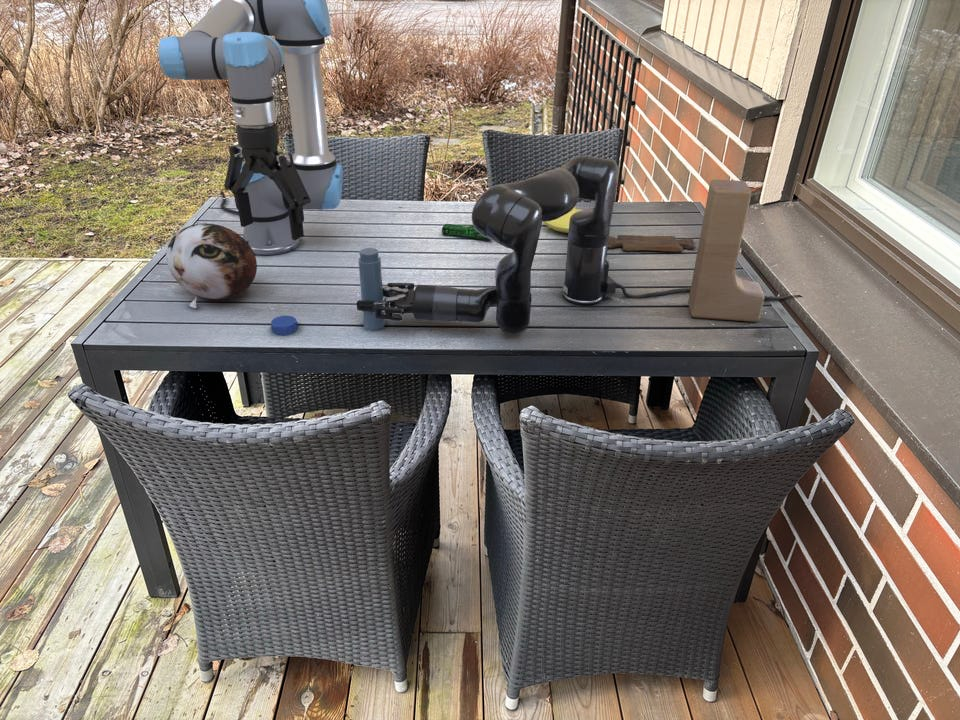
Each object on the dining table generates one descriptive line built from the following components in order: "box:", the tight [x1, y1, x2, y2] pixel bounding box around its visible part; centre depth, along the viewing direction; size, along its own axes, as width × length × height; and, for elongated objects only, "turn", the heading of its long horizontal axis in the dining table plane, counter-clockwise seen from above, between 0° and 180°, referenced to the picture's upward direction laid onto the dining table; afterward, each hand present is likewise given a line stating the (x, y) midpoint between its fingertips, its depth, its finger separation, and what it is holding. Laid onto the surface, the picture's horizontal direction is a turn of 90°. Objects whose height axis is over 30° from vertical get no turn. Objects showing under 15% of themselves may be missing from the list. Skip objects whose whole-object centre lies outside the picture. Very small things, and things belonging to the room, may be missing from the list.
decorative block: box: [687, 178, 765, 323], centre depth 157 cm, size 8×15×30 cm, turn 82°
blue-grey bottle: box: [357, 247, 386, 331], centre depth 153 cm, size 5×5×18 cm
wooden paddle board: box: [608, 234, 695, 253], centre depth 200 cm, size 26×2×10 cm
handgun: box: [441, 223, 492, 242], centre depth 207 cm, size 16×3×15 cm
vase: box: [543, 206, 583, 234], centre depth 209 cm, size 16×16×7 cm
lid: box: [270, 315, 299, 336], centre depth 155 cm, size 6×6×2 cm
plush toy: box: [165, 222, 258, 309], centre depth 165 cm, size 22×18×20 cm
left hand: (272, 231), depth 145 cm, fingers open, 13 cm apart
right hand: (361, 298), depth 155 cm, fingers open, 6 cm apart
